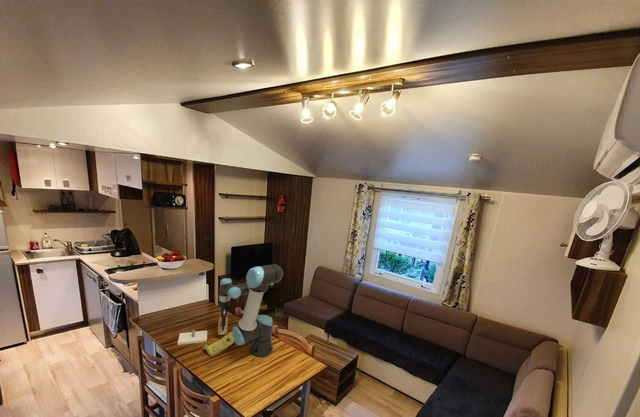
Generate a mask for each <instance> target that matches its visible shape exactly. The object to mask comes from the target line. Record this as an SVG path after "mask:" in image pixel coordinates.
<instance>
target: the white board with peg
mask: <svg viewBox="0 0 640 417" xmlns="http://www.w3.org/2000/svg"><path fill="white" fill-rule="evenodd" d="M207 340H208V330H200V331H196V330H195V329H192V332H191V331H188V332H180V333H179V336H178V339H177V346H181V345H187V344H188V345H189V344H198V343H199V344H200V343H205V342H207Z"/></svg>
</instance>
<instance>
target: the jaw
mask: <svg viewBox="0 0 640 417" xmlns="http://www.w3.org/2000/svg"><path fill="white" fill-rule="evenodd" d="M217 325H218V326H217V327H218V328H217V335H218V336H222V335H224V336H225V335H227V334H228V326H229V316H228V315H226V324H225V334H222V335H221V326H220V325H222V317H221V316H219V317H218V324H217Z"/></svg>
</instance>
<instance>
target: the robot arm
mask: <svg viewBox="0 0 640 417" xmlns="http://www.w3.org/2000/svg"><path fill="white" fill-rule="evenodd" d="M283 276H284V270H283V269H282V268H281V266H279V265H278V264H274V263H273V264H269V265H268V264H267V265H261V266H254V267H252V268H249V270H248V272H247V273H246V276H245V280H246V282H245V283H240V284H235V285H234V284H233V282H232V279H231V278H222V279H221V280H220V282H219V283H220V284H219V296H218V299H219V300H218V307H220V313H221V316H220V317H222V325H220V326H221V335H220V336H222V334H224V335H226V334H225V324H226V316H227V314H228V307H230V305H231V299H233V300H237V299H238V298H239V297H240V296H242V295H247V299H246V302H245V306H244V310H243V313H242V318H240V320H238V322H237V325H235V326H233V328H232V333H233V338H234V341H235V342H234V343H235V344H236V345H237V346H243V345H245V344H248V343H251V344H250V347H249V349H250V350H249V352H250V354H251V355H252V356H254V357H258V358H264V357H265V358H266V357H267V356H269V355H271V354H272V353H273V351H274V345H273V341H272V333H273V332H272V331H273V326H274V325H273V324H274V323H273V318H272V317H271V316H269V315H266V314H259V311H260V308H261V304H262V300H263V296H264V293H266V292H267V291H268V288H269V286H270V285H274V284H277V283H279V282H280V281H282V280H283Z"/></svg>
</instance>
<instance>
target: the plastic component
mask: <svg viewBox="0 0 640 417" xmlns="http://www.w3.org/2000/svg"><path fill="white" fill-rule="evenodd" d="M232 331H233V330H232ZM232 331H230V332H227V334H225V335H224V336H223V337H222V338H221V339H218V340H216V341H214V342H212V343H211V344H208V345H207V344H204V345H203V347H202V350H203V351H206V353H207V354H208V355H209V356H210V357H215V356H216V355H218V354H219V355H220V354H221V353H222V352H224V351H226V350H228V348H230V347H231V346H232V345H233V344H234V343H235V341H234V338H233V333H232Z"/></svg>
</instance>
